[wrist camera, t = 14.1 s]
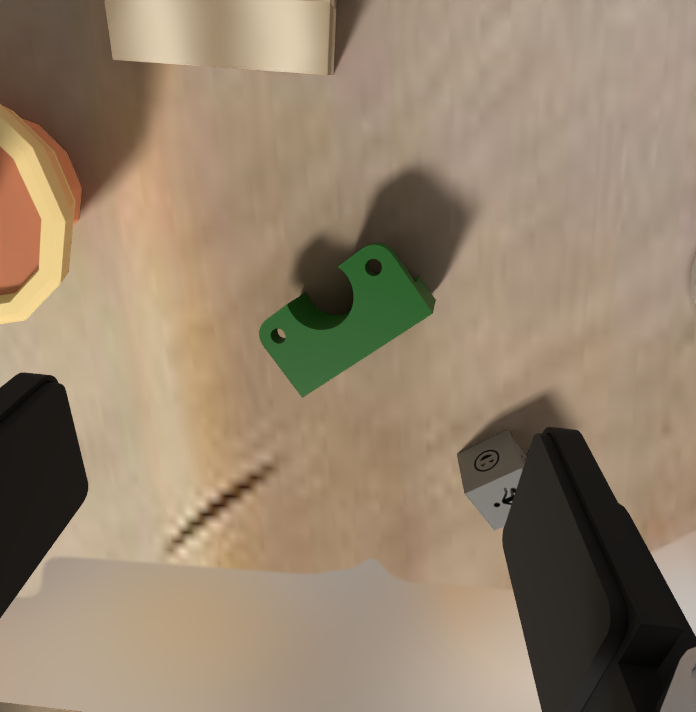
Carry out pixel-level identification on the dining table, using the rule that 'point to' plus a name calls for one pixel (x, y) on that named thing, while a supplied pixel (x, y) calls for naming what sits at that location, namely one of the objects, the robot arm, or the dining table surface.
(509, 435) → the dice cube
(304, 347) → the clamp
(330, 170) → the dining table surface
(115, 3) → the socket block
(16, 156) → the potted cactus
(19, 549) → the robot arm
